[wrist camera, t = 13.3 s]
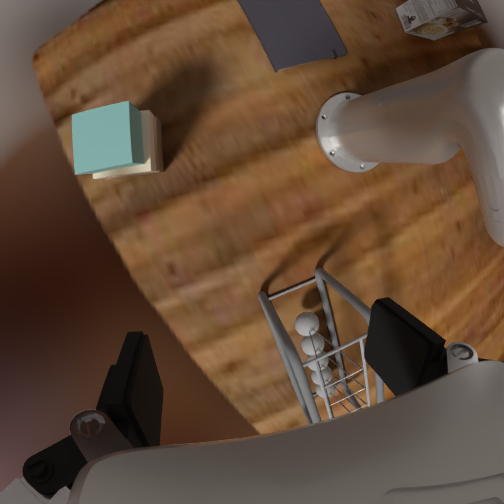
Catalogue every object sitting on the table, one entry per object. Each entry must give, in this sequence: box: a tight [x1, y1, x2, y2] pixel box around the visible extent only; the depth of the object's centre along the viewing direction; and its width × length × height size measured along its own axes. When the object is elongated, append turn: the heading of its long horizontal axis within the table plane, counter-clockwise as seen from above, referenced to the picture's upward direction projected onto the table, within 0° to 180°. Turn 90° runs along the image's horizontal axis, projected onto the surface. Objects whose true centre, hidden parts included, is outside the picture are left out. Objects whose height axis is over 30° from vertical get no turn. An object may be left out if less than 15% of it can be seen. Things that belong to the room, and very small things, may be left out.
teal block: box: [72, 101, 145, 175], centre depth 23 cm, size 6×6×6 cm
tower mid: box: [93, 110, 158, 179], centre depth 28 cm, size 6×6×5 cm
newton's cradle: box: [258, 267, 384, 424], centre depth 40 cm, size 30×10×18 cm, turn 19°
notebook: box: [237, 0, 347, 72], centre depth 32 cm, size 13×2×21 cm
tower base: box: [105, 115, 164, 180], centre depth 33 cm, size 7×7×5 cm
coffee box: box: [396, 0, 487, 40], centre depth 27 cm, size 9×6×16 cm
